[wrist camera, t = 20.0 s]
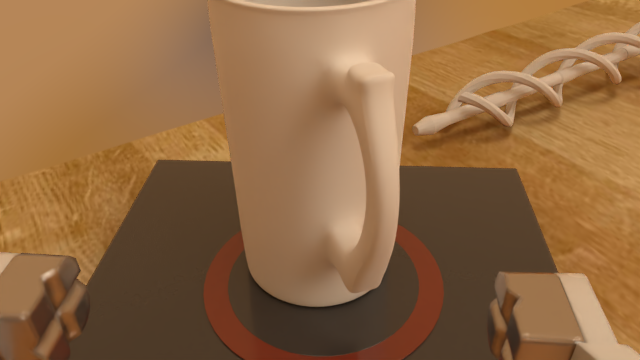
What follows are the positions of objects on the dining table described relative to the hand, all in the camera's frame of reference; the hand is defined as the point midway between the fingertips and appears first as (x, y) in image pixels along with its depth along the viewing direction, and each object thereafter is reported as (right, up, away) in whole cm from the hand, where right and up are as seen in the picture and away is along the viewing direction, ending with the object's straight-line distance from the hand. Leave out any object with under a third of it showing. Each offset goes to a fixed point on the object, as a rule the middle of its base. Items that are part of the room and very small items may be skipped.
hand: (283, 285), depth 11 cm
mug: (+1, -2, +12) cm, 13 cm away
